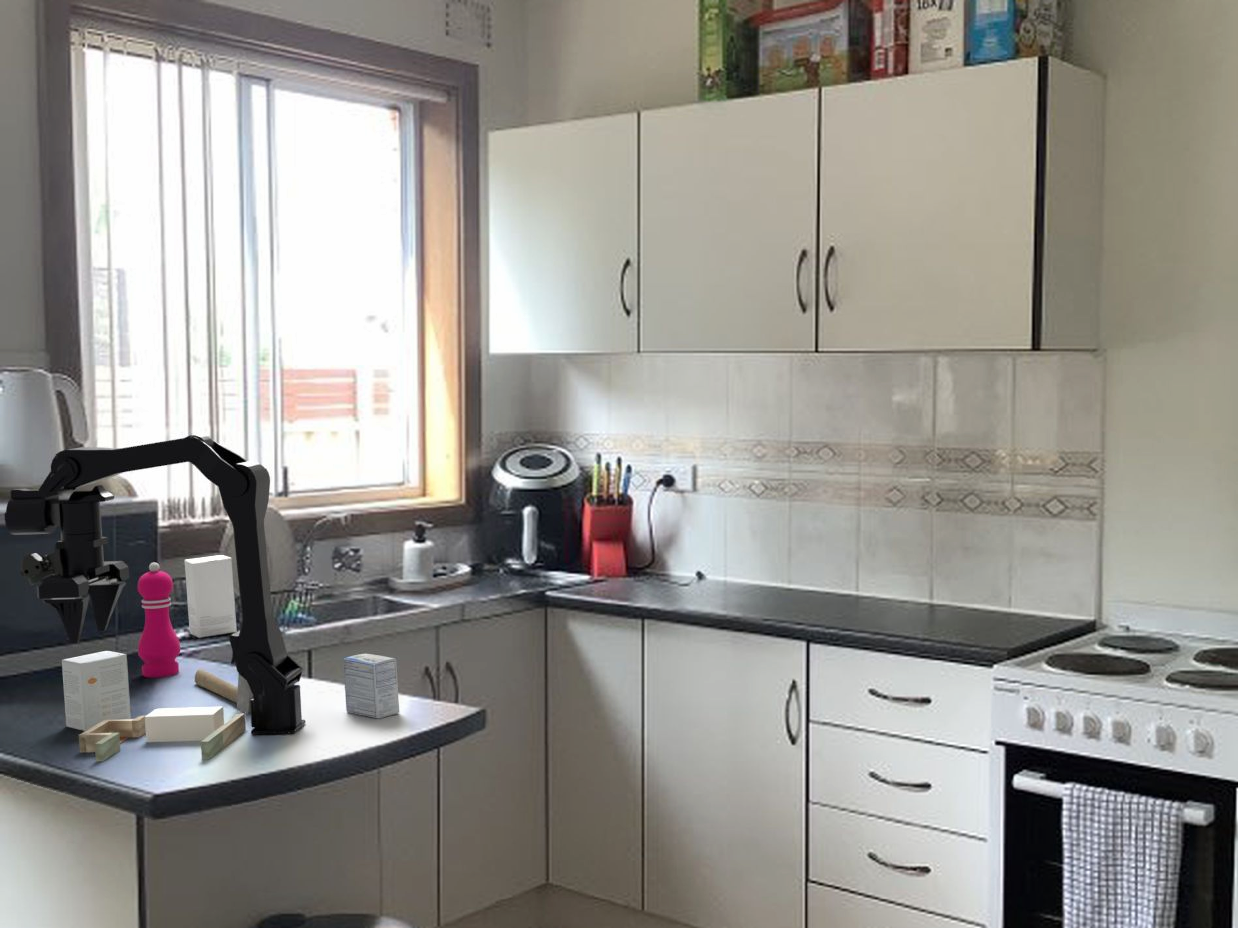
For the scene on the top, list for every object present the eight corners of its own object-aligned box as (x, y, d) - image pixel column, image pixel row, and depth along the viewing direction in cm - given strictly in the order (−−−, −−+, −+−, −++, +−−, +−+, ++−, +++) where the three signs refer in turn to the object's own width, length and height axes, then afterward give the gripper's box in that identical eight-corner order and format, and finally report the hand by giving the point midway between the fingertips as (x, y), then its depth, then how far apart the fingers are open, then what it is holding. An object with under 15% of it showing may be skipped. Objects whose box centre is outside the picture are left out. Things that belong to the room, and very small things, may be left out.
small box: (111, 716, 233) (107, 649, 233) (132, 720, 230) (127, 653, 229) (64, 726, 227) (60, 658, 226) (84, 731, 224) (80, 662, 223)
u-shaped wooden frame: (245, 729, 221) (244, 713, 221) (208, 759, 205) (207, 741, 205) (111, 732, 222) (110, 716, 222) (64, 761, 206) (63, 744, 206)
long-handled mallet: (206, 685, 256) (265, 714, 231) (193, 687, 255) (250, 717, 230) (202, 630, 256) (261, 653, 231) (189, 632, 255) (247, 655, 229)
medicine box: (400, 713, 228) (397, 657, 227) (377, 719, 224) (374, 663, 224) (368, 707, 233) (365, 652, 232) (345, 712, 230) (342, 657, 229)
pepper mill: (174, 677, 261) (167, 564, 260) (133, 678, 261) (126, 565, 260) (187, 668, 268) (180, 558, 267) (147, 670, 268) (140, 560, 267)
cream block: (224, 732, 221) (223, 706, 220) (214, 741, 216) (213, 714, 216) (157, 734, 221) (156, 708, 221) (146, 743, 216) (144, 716, 216)
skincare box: (227, 628, 309) (223, 554, 308) (238, 633, 303) (234, 557, 302) (187, 633, 304) (183, 558, 303) (197, 638, 299) (192, 561, 298)
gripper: (57, 526, 230) (64, 626, 231) (-3, 542, 212) (5, 650, 213) (127, 524, 229) (133, 624, 230) (73, 539, 211) (80, 648, 212)
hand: (88, 636), depth 221 cm, fingers open, 9 cm apart
